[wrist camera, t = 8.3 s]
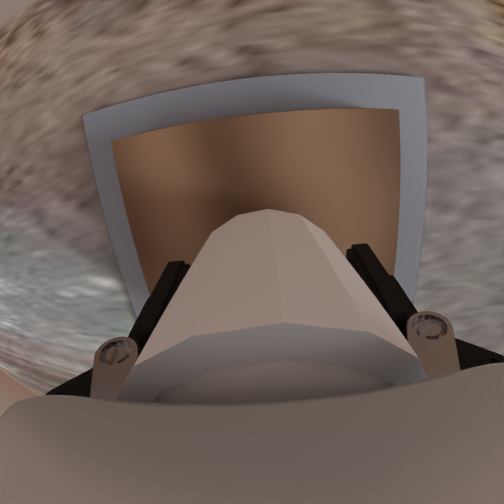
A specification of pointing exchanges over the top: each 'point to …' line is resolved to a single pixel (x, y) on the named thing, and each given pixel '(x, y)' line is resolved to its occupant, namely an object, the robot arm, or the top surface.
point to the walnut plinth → (262, 179)
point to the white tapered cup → (270, 323)
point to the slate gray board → (260, 101)
